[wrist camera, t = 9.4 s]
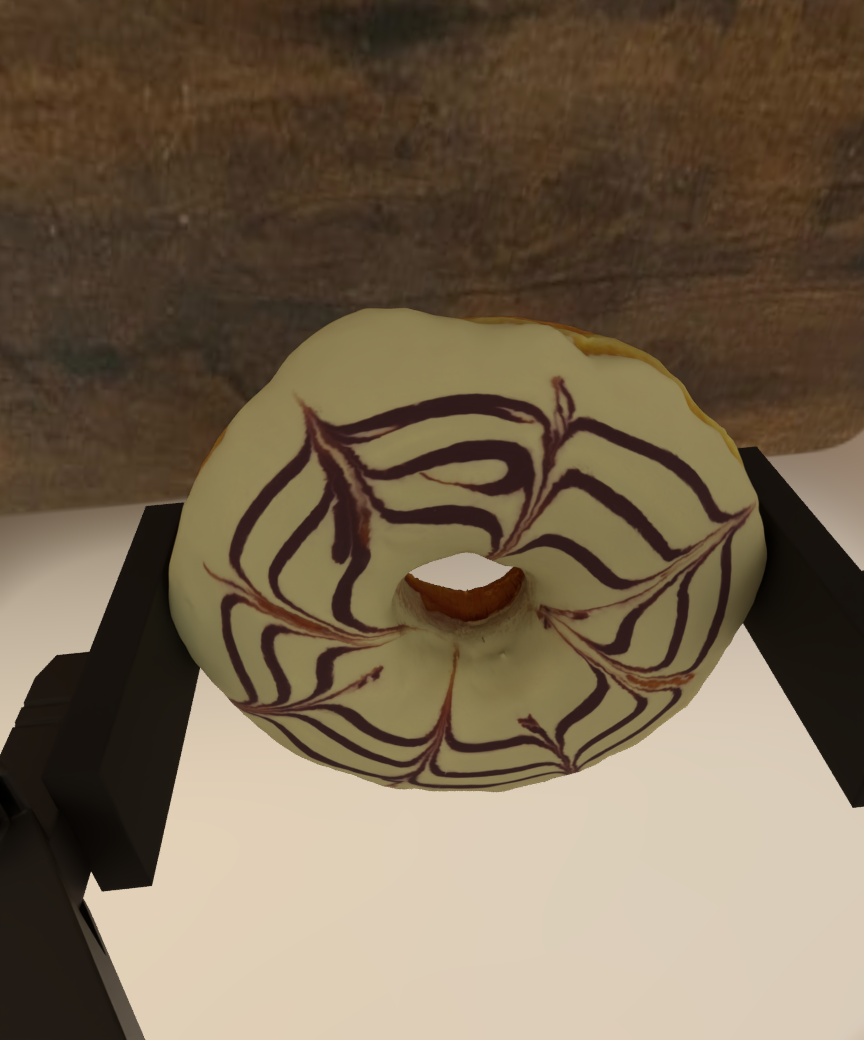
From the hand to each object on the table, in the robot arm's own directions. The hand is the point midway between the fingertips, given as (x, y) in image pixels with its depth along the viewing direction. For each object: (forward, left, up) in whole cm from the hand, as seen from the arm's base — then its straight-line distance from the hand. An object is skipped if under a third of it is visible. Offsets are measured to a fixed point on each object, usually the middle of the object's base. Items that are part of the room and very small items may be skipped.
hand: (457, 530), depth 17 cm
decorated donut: (0, 0, 0) cm, 0 cm away
